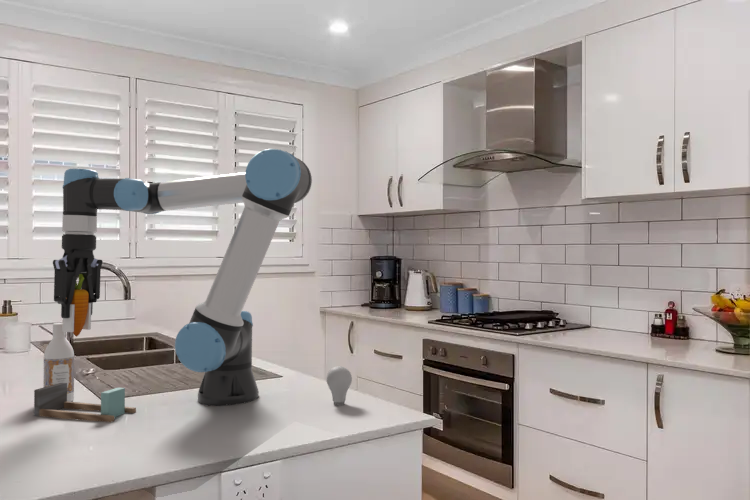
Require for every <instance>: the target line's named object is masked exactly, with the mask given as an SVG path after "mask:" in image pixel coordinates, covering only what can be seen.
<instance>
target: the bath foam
mask: <svg viewBox="0 0 750 500" xmlns="http://www.w3.org/2000/svg"><path fill="white" fill-rule="evenodd" d="M62 323H63V322H54V323H52V338H51V339H50V341H49V343H48V344H47V345H46V348H45V349H44V353H43V387H47V386H51V385H55V384H59V383H67V401H69V402H74V400H75V353H74V352H75V351H74V349H73V346H72V345H71V343H70V341H69V340H68V339H67V337H66V334H67V332H62ZM43 387H42V388H43Z"/></svg>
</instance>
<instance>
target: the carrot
mask: <svg viewBox="0 0 750 500" xmlns="http://www.w3.org/2000/svg"><path fill="white" fill-rule="evenodd" d="M83 280H84V277H83V275H82V274H79V276H78V281H76V285H75V290H74V294H73V299H72V303H71V304H74V305H75V307H74V332H72V333H73V335H74V336H75V337H78V336H79V335H80V334H81V332H82V330H84V329H83V326H84V324H85V320H86V316H87V311H88V298H89V294H88V292H87V291H86V290H84V289H81V286H82V282H83ZM66 299H67V298H66Z"/></svg>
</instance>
